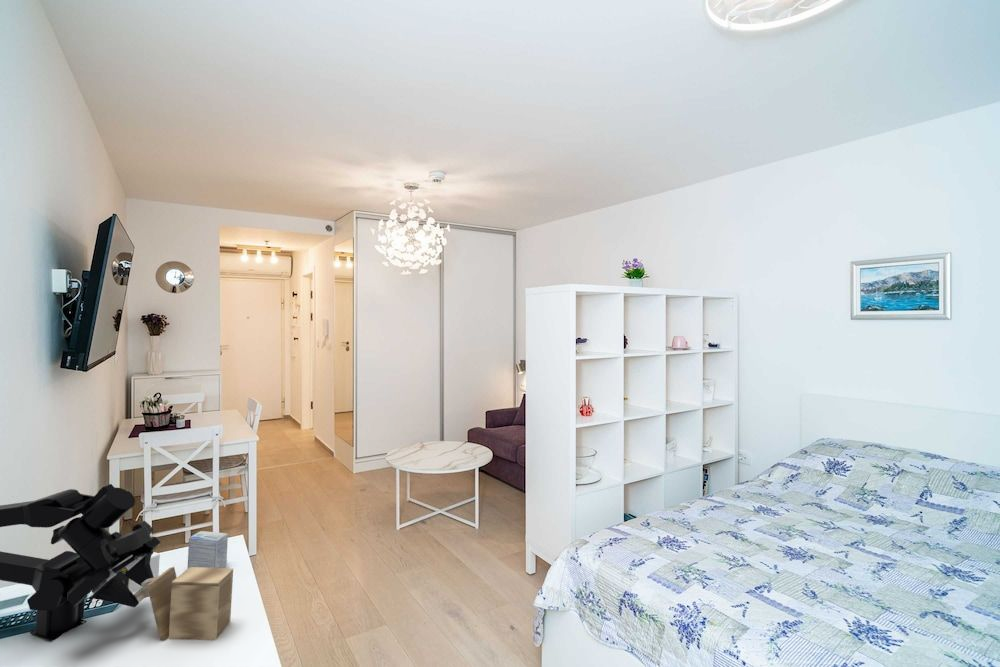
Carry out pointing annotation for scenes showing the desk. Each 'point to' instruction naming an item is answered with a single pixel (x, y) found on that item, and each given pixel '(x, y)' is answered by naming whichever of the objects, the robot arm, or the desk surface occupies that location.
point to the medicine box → (208, 550)
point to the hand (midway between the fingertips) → (146, 597)
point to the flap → (159, 599)
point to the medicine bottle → (154, 567)
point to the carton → (200, 603)
